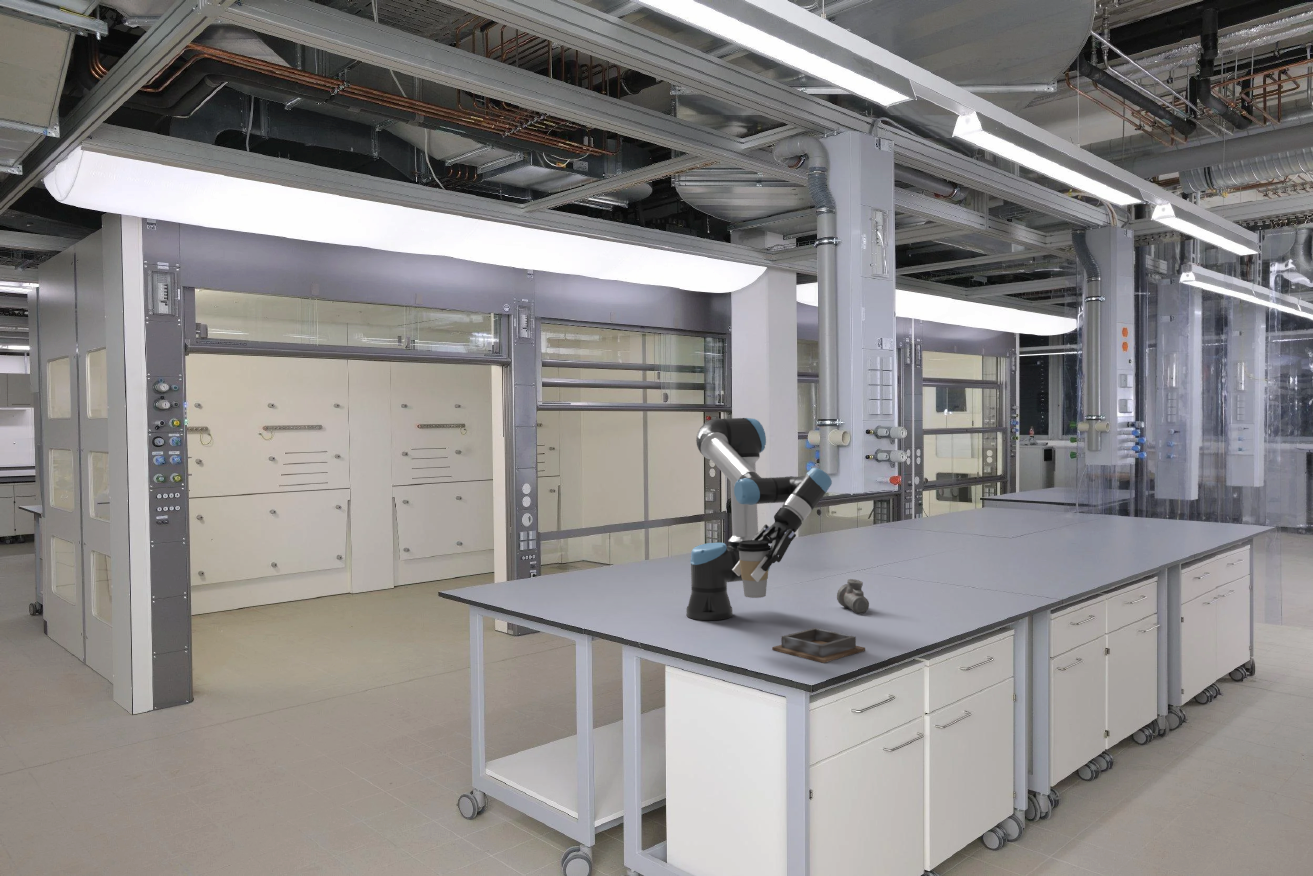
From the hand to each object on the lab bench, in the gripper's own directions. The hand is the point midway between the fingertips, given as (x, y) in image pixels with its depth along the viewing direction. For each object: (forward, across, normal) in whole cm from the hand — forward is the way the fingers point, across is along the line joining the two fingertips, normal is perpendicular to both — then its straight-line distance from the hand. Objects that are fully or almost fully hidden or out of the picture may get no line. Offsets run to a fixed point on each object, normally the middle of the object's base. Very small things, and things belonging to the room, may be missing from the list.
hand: (744, 575), depth 243 cm
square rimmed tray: (+2, -8, -28) cm, 29 cm away
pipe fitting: (-26, +28, -56) cm, 68 cm away
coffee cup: (+2, 0, -6) cm, 7 cm away
